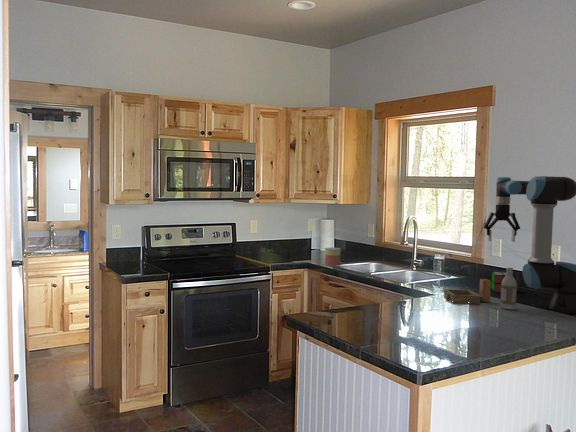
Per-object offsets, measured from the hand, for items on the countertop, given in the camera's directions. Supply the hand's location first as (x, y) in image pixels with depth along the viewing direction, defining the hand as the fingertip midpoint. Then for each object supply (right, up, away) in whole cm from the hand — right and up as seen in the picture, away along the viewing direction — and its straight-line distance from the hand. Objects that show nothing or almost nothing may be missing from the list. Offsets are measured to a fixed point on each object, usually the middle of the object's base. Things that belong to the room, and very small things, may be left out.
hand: (501, 241), depth 316 cm
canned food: (-90, -21, +85) cm, 125 cm away
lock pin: (-29, -29, -31) cm, 52 cm away
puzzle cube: (0, -28, -1) cm, 28 cm away
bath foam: (-14, -31, -46) cm, 57 cm away
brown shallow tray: (-33, -29, -31) cm, 54 cm away
